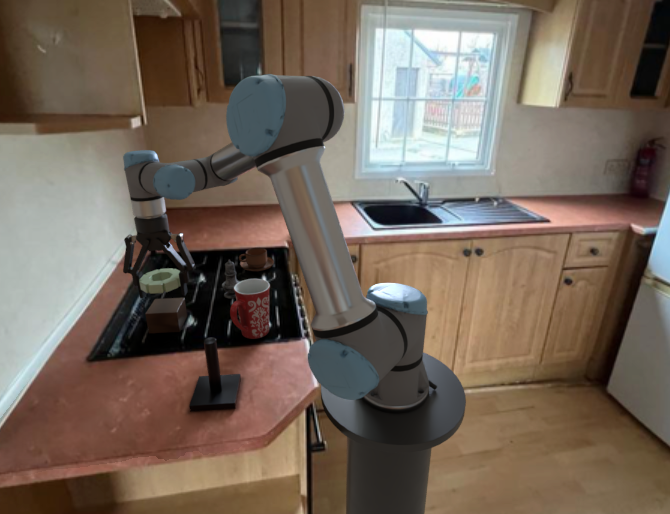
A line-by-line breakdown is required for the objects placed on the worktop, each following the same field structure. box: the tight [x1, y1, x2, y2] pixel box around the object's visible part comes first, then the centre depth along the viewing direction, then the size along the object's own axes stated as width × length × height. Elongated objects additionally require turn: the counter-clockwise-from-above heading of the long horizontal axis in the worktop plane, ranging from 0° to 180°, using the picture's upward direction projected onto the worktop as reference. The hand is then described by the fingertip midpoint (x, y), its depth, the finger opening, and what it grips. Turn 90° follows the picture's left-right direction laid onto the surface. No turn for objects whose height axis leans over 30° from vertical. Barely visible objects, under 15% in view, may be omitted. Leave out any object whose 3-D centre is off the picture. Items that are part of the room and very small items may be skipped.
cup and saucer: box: [238, 247, 275, 272], centre depth 147 cm, size 12×12×6 cm
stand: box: [188, 336, 242, 413], centre depth 85 cm, size 9×9×14 cm
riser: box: [144, 297, 188, 334], centre depth 111 cm, size 8×8×6 cm
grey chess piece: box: [221, 259, 241, 299], centre depth 126 cm, size 6×6×12 cm
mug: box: [229, 278, 271, 340], centre depth 105 cm, size 13×9×14 cm
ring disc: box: [139, 267, 181, 295], centre depth 108 cm, size 10×10×2 cm
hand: (164, 294), depth 109 cm, fingers closed on ring disc, 10 cm apart
